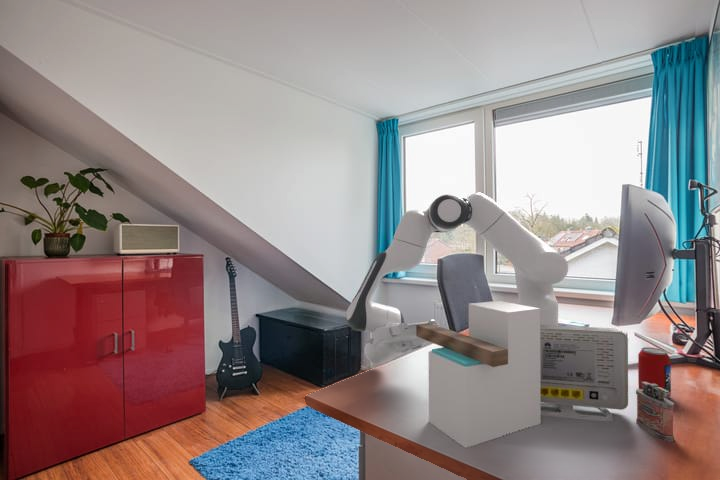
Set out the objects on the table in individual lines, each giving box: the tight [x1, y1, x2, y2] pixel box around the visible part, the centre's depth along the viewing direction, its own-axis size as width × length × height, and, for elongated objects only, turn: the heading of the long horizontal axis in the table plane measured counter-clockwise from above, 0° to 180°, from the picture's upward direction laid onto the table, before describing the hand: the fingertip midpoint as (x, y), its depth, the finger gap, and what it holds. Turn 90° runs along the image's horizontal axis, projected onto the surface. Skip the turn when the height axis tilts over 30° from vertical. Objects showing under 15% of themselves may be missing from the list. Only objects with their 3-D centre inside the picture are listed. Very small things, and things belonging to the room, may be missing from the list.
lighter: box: [635, 382, 675, 442], centre depth 80 cm, size 8×3×10 cm, turn 5°
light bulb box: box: [558, 318, 590, 327], centre depth 137 cm, size 11×7×11 cm, turn 40°
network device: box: [540, 325, 629, 422], centre depth 90 cm, size 26×9×20 cm, turn 77°
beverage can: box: [637, 346, 672, 399], centre depth 98 cm, size 7×7×12 cm
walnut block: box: [416, 323, 508, 367], centre depth 84 cm, size 26×4×3 cm, turn 26°
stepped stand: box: [428, 300, 542, 449], centre depth 84 cm, size 12×22×26 cm, turn 116°
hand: (420, 324), depth 97 cm, fingers open, 8 cm apart
